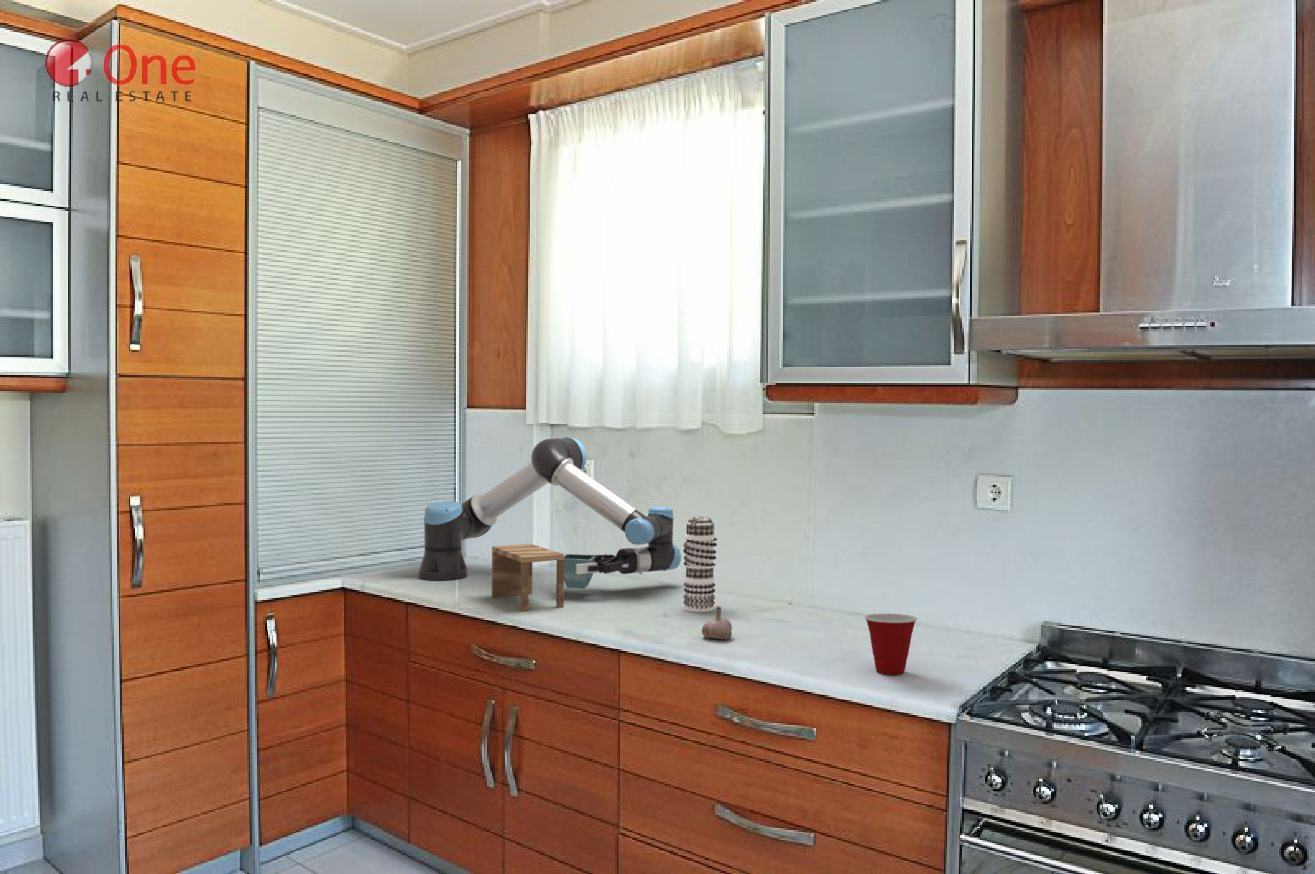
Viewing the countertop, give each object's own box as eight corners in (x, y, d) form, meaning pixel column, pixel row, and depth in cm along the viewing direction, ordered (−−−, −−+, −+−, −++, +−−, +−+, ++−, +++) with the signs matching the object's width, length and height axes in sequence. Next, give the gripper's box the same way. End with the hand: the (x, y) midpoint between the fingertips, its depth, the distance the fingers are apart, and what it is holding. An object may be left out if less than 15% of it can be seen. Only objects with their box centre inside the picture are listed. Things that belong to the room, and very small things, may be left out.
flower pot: (595, 585, 286) (596, 554, 285) (590, 590, 277) (590, 559, 277) (566, 584, 287) (566, 553, 286) (560, 589, 278) (560, 558, 278)
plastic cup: (903, 663, 211) (904, 609, 211) (924, 677, 201) (925, 620, 200) (855, 665, 210) (856, 610, 209) (874, 679, 199) (875, 621, 199)
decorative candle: (721, 610, 264) (722, 518, 263) (689, 612, 261) (690, 519, 260) (708, 604, 272) (709, 515, 272) (677, 606, 269) (678, 516, 269)
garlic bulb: (736, 641, 230) (736, 608, 230) (706, 642, 229) (706, 609, 229) (727, 634, 238) (727, 601, 237) (698, 635, 236) (698, 602, 236)
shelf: (491, 596, 280) (492, 546, 280) (530, 592, 286) (530, 543, 286) (523, 611, 261) (523, 557, 260) (563, 606, 267) (564, 554, 267)
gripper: (652, 579, 281) (585, 585, 270) (613, 566, 301) (548, 572, 290) (653, 553, 281) (586, 559, 269) (613, 542, 301) (549, 547, 290)
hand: (566, 565), depth 280 cm, fingers closed on flower pot, 12 cm apart
